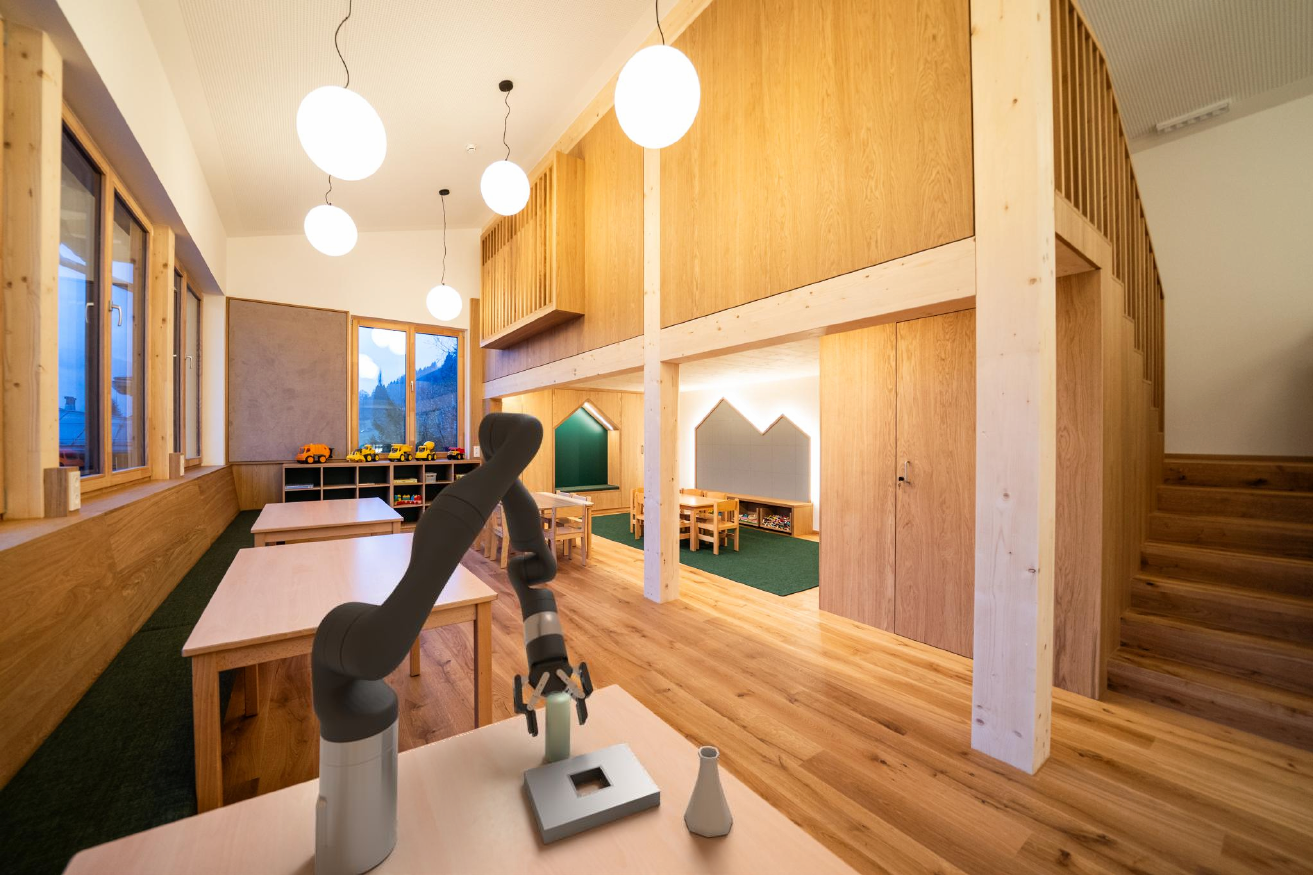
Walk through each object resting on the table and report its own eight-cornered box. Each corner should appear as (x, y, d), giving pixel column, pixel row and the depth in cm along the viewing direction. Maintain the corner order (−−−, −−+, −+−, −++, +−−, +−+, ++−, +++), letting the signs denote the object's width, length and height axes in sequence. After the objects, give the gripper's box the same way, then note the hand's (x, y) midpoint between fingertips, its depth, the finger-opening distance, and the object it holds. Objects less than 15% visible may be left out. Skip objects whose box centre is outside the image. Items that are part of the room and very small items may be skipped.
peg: (548, 765, 86) (549, 707, 86) (542, 751, 90) (543, 695, 90) (573, 758, 88) (573, 701, 88) (566, 744, 92) (566, 690, 92)
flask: (731, 804, 77) (732, 739, 77) (734, 841, 70) (734, 769, 70) (685, 800, 78) (685, 736, 78) (682, 836, 71) (683, 765, 71)
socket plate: (544, 844, 69) (544, 830, 69) (523, 783, 81) (523, 770, 82) (660, 803, 77) (660, 790, 77) (625, 753, 90) (625, 742, 90)
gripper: (510, 638, 93) (522, 732, 82) (583, 626, 99) (603, 712, 89) (505, 656, 98) (515, 747, 87) (575, 643, 104) (593, 727, 93)
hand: (559, 729), depth 88 cm, fingers open, 8 cm apart
